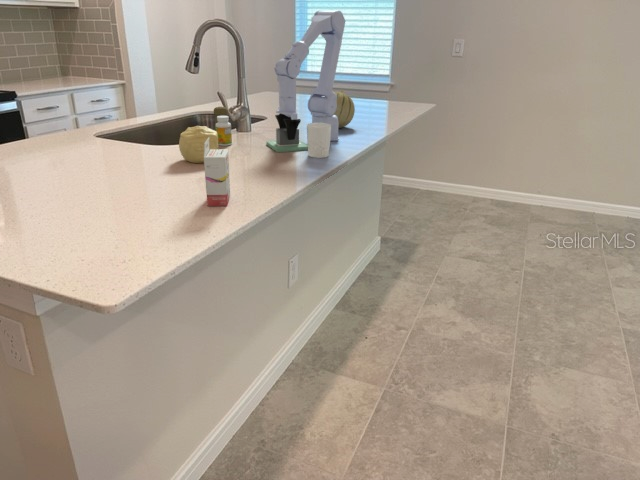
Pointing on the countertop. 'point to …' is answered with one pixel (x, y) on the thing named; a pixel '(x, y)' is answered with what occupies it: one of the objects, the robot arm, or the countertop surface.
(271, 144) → the board
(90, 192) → the countertop surface
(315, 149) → the white cup
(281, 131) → the block
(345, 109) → the ribbed yellow gourd
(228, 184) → the ink cartridge box
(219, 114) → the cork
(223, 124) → the supplement bottle
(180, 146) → the pale yellow rounded piece
